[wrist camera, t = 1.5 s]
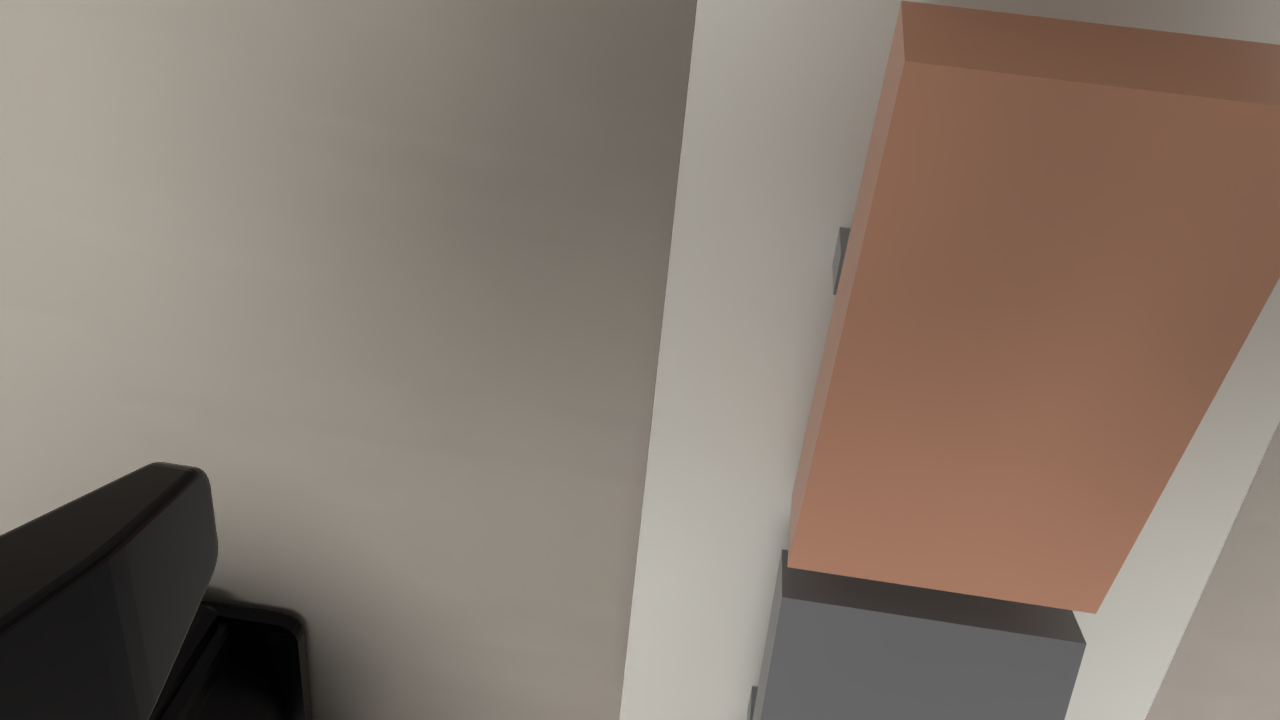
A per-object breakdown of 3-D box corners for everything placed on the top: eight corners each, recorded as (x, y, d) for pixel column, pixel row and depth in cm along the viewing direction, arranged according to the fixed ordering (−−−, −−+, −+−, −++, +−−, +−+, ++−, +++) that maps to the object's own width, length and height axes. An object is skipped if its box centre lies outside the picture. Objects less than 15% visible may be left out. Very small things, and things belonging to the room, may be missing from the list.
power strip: (970, 864, 30) (1002, 1107, 25) (621, 806, 30) (583, 1031, 25) (1669, -1011, 13) (2237, -1472, 8) (839, -1057, 13) (853, -1513, 8)
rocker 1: (1081, 538, 17) (1095, 614, 16) (791, 495, 18) (787, 567, 17) (1323, 49, 12) (1366, 117, 11) (901, 0, 12) (904, 61, 11)
